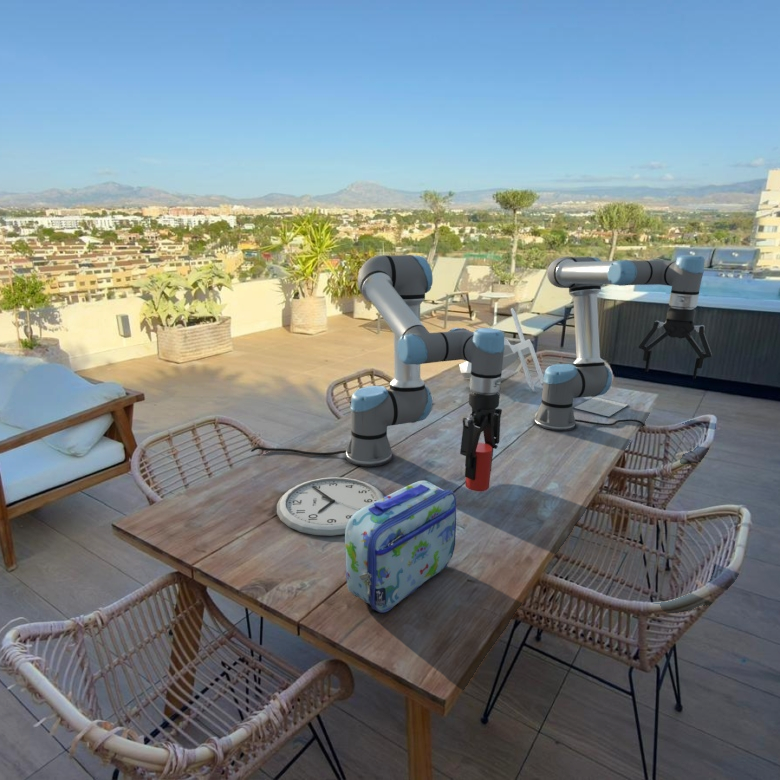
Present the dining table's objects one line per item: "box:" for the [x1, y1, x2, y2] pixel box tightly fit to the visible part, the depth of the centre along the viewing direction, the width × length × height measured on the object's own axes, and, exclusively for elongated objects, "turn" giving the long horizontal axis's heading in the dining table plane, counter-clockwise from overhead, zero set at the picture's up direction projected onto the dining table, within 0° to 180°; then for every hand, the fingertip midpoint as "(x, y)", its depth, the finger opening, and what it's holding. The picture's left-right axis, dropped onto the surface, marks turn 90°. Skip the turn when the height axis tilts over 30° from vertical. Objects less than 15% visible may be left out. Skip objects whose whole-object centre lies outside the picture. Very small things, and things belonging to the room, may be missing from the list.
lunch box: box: [344, 480, 457, 614], centre depth 109 cm, size 26×11×21 cm, turn 135°
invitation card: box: [573, 396, 629, 418], centre depth 226 cm, size 21×1×15 cm
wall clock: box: [276, 476, 386, 537], centre depth 142 cm, size 30×2×30 cm
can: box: [465, 442, 493, 492], centre depth 137 cm, size 6×6×11 cm
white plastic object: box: [458, 307, 544, 393], centre depth 256 cm, size 37×45×31 cm
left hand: (478, 473), depth 138 cm, fingers closed on can, 6 cm apart
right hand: (669, 374), depth 166 cm, fingers open, 13 cm apart
